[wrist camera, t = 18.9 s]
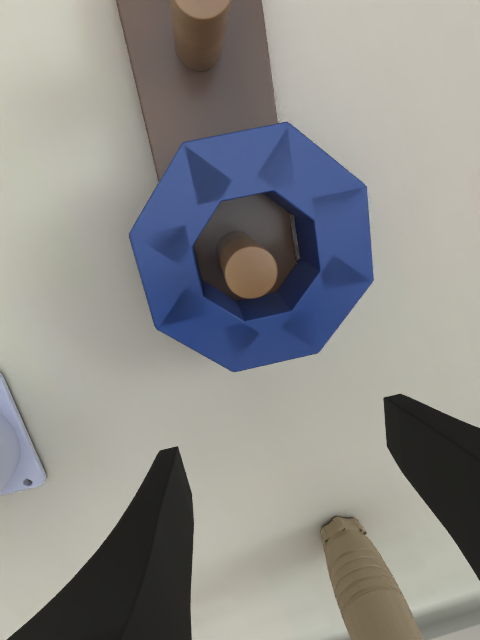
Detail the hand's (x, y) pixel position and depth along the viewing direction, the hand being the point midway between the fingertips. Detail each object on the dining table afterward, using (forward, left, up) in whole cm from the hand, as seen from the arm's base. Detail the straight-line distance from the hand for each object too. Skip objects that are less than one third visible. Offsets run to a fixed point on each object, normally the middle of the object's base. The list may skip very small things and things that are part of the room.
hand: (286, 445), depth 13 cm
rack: (0, +10, -10) cm, 14 cm away
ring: (+1, +5, -9) cm, 10 cm away
